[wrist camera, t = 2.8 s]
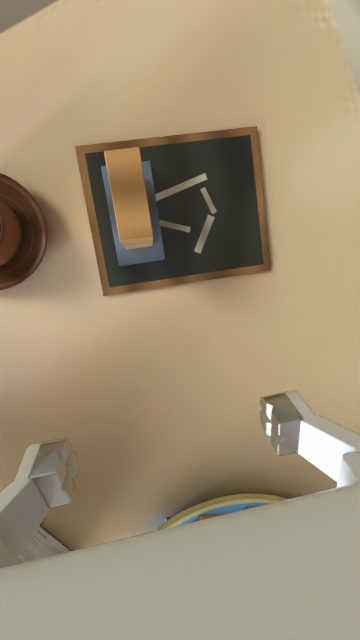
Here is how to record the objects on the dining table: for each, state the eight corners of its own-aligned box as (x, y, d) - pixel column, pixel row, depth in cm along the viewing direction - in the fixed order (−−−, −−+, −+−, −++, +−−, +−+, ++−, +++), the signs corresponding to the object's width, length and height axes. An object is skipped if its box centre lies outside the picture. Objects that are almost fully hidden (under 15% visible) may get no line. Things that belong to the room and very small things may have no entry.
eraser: (164, 259, 33) (169, 253, 24) (120, 266, 33) (109, 261, 24) (149, 167, 32) (149, 124, 23) (104, 173, 31) (85, 131, 22)
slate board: (104, 295, 34) (103, 295, 33) (76, 148, 31) (74, 145, 31) (269, 270, 35) (271, 270, 35) (255, 128, 33) (256, 125, 32)
